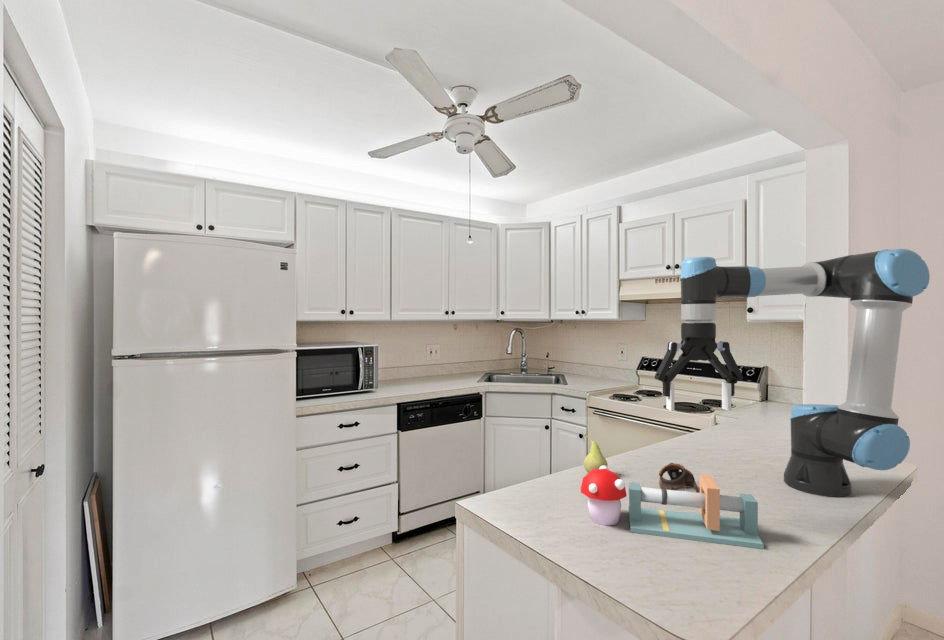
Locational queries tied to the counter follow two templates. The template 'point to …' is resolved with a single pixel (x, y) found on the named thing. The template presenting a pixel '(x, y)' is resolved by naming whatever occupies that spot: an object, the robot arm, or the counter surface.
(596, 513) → the mushroom
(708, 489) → the peach rectangular collar
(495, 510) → the counter surface
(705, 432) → the counter surface
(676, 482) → the pottery mug
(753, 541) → the pipe rig
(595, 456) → the fruit
